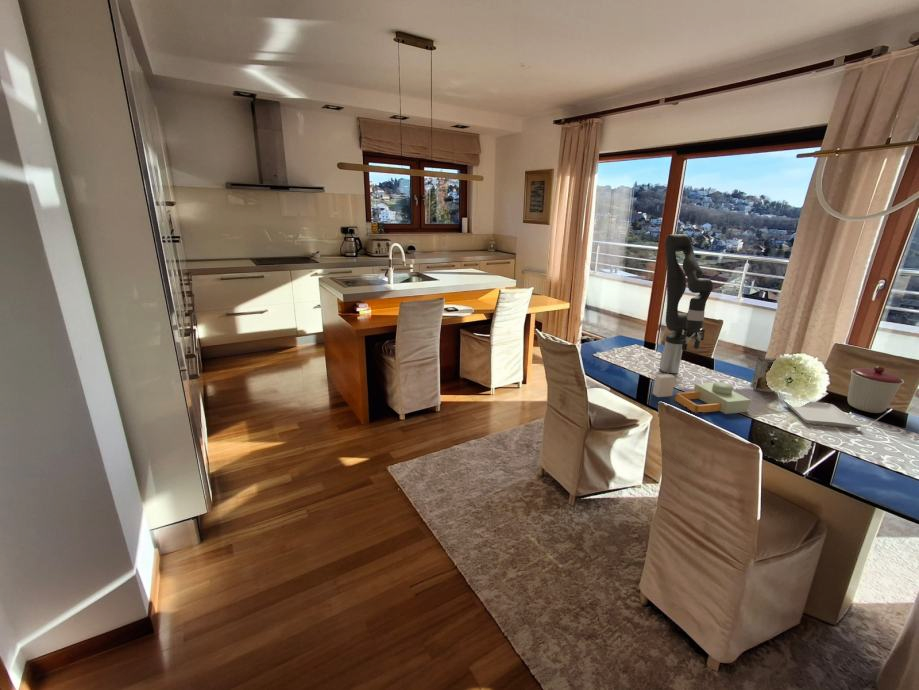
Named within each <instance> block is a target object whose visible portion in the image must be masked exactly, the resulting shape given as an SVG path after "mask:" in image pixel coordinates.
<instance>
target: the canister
mask: <svg viewBox="0 0 919 690" xmlns="http://www.w3.org/2000/svg"><path fill="white" fill-rule="evenodd" d="M850 373H851V375H850V381H849V386H848V392H847V403H848V405H849V406H850V407H852V408H854V409H856V410H859V411H862V412H867V413H871V414H882V413H884V412H885V411H886V410H887V409H888V408H889V406H890V404H891V403H892V401H893V400H894V398H895V397H896V394H897V393H898V391H899V389H900V387H901V386H902V385H903V384H904V383H905V381H904V379H902V378H901V377H900V376H898V375H897V374H894V373H891V372H889V371H886V370H885V368H884V367H883V366H881V365H876V366H874V367H873V368H869V367H857V368H852V369H851V370H850Z"/></svg>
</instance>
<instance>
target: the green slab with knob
mask: <svg viewBox="0 0 919 690" xmlns="http://www.w3.org/2000/svg"><path fill="white" fill-rule="evenodd" d="M733 389H734V387H733V386H732V385H731V384H729V383H727V382H719V381H715V382H702V383H695V384H694V387H693V391H685V392H684V391H683V392H675V394H674V398H673V400H674V401H675V402H677V403H679V404H680V405H682V406H683V407H685V408H686V407H687V408H686V409H688V410H690V411H691V412H693V413H694V412H695V413H694V414H698V413H697V412H703V413H711V412H721V413H722V414H725V415H727V414H728V415H729V414H738V413H748V410H749V407H750V403H751V399H750V398H748V397H746V396H744V395H742V394H740V393H738V392H737V391H734V390H733ZM697 399H698V400H701V401H702V402H704V403H705V404H697V403H695V402H693V401H692V400H697Z"/></svg>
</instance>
